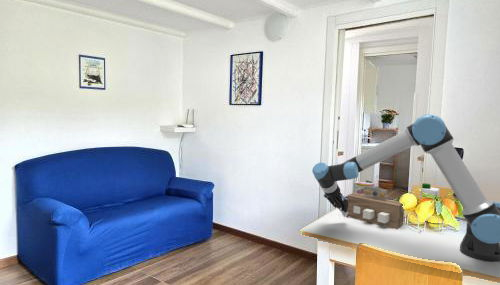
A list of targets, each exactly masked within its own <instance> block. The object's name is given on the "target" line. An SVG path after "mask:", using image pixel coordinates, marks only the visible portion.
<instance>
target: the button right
mask: <svg viewBox="0 0 500 285" xmlns="http://www.w3.org/2000/svg"><path fill="white" fill-rule="evenodd" d="M389 221H390V213H387V212H381V213H379V214H378V222H382V223H387V222H389Z"/></svg>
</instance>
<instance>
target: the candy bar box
mask: <svg viewBox="0 0 500 285" xmlns="http://www.w3.org/2000/svg"><path fill="white" fill-rule="evenodd" d="M374 185H375V183H373V182H372V183H369V182H368V183H366V181H365V182H364V181H354V182H353V193H358V194H363V195H364V192H365V186H369V187H374ZM353 193H352V194H353Z"/></svg>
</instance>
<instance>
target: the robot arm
mask: <svg viewBox="0 0 500 285" xmlns="http://www.w3.org/2000/svg"><path fill="white" fill-rule="evenodd" d="M453 142H454V137H453V135H452V133H451V132H450V131H449V129H448V127H447V126H446V124H445V121H444V120H443V119H442V118H441V117H440V116H438V115H435V114H423V115H421V116H419V117H418V118H416V119H415V121H414V122H413V123H411V124H410V125H408V126H406V128H405V130H403V131H402V132H400V133H397V134H396V135H394V136H392V137H390V138H388V139H386V140H385V141H383V142H380V143H379V144H376V145H375V146H373V147H371V148H369V149H367V150H365V151H364V152H362V153H360V154H357V155H356V156H354V157H352V158H350V159H348V160H345V161H344V162H343V163H339V164H334V165H333V164H332V165H329V166H328V164H327V163H325V162H317V163H316V164H314V166H313V167H312V169H311V171H312V174H313V176H314V179H315V180H316V181H317V183H318V184H319V186H320V188H321V190H322V191H323V192H324V194H323V197H324V198H325V199H326V200H327V201H328V202H329V203H330V205H332V206H333V207H334V208H337V209H338V211H339V212H341V214H342V216H343V217H345V218H347V217H348V216H347V214H348V211H347V208H348V206H349V205H348V200H347V199H348V195H345V196H343V193H341V188H340V187H339V184H338V183H337V182H341V181H347V180H353V179H357V178H358V177H359V173H361V172H363V171H365V170H367V169H368V168H370V167H373V166H375V165H377V164H379V163H381V162H382V161H385V160H388V159H389V158H391V157H393V156H395V155H397V154H399V153H401V152H403V151H406V150H407V149H409V148H412V147H413V146H416V147H419V146H420V147H421V148H422V150H423V152H424V153H426V154H428V155H431V157H432V159H433V161H434V162H435V163H436V165H437V166H438V168H439V171H440V172H441V173H442V175H443V177H444V179H445V180H446V182H447V183H448V185H449V187H450V188H451V189H452V191H453V193H455V195H456V196H457V198H458V200H459V201H460V203H461V204H462V206H463V211H462V214H463V216H464V217H465V219H466V220H465V221H466V229H465V230H466V231H465V234H464V236H463V237H462V240H461V241H460V244H459V251H460V252H461V253H462V254H464V255H466V256H468V257H470V258H474V259H478V260H482V261H487V262H499V261H500V202H498V201H493V199H492V200H491V199H489V198H487V197H486V196H485V194H484V192H483V191H482V190H481V187H479V184H478V183H477V182H476V180H475V178H474V177H473V175H472V174H471V172H470V170H469V169H468V167H467V165H466V164H465V162H464V161H463V159H462V158H461V156H460V154H459V153H458V151H457V150H456V148H455V146H454V145H453Z"/></svg>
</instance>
